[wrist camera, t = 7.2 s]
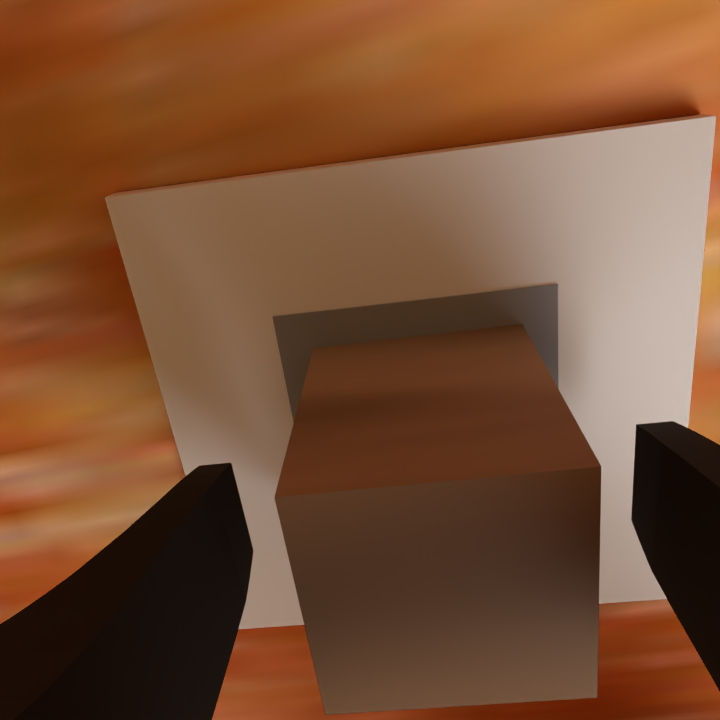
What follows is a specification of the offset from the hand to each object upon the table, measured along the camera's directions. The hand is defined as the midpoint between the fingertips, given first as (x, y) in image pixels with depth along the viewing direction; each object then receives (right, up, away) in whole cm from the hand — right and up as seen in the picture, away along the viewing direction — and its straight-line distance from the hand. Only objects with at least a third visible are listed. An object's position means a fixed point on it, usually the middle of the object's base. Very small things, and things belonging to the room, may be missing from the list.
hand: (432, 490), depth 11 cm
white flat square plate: (0, +1, +3) cm, 3 cm away
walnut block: (0, +1, +2) cm, 2 cm away
